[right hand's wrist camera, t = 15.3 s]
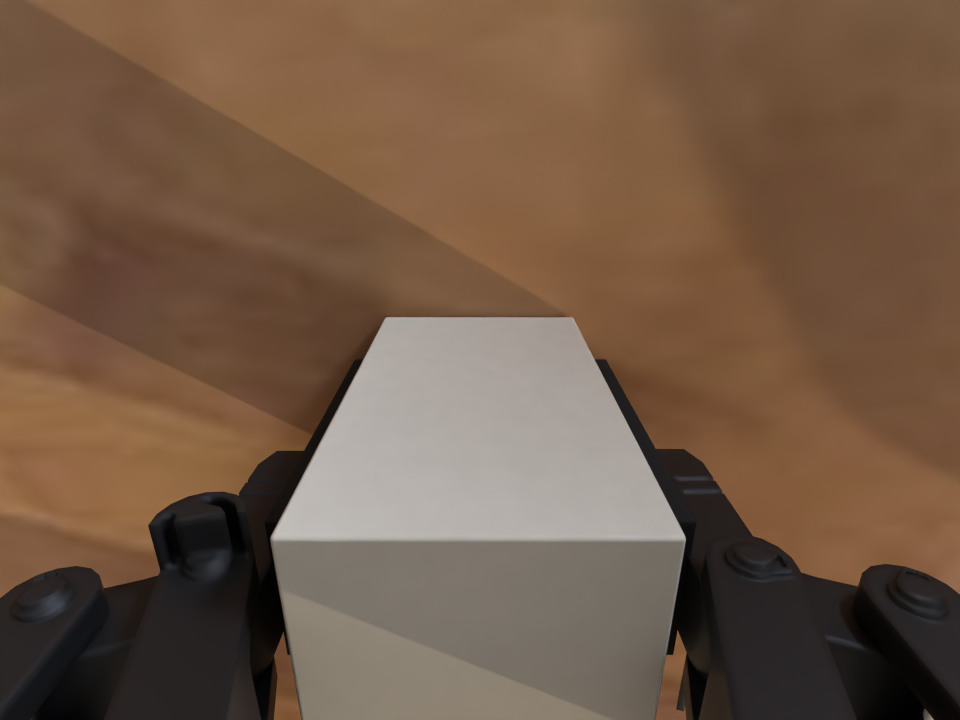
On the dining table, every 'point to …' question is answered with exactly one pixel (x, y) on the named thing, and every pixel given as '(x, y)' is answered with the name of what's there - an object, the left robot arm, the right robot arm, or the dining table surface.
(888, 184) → the dining table surface
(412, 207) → the dining table surface
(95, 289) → the dining table surface
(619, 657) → the cream block
